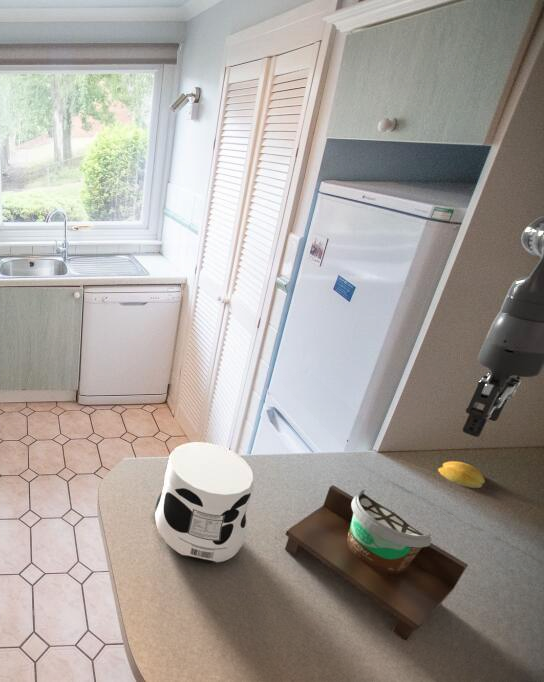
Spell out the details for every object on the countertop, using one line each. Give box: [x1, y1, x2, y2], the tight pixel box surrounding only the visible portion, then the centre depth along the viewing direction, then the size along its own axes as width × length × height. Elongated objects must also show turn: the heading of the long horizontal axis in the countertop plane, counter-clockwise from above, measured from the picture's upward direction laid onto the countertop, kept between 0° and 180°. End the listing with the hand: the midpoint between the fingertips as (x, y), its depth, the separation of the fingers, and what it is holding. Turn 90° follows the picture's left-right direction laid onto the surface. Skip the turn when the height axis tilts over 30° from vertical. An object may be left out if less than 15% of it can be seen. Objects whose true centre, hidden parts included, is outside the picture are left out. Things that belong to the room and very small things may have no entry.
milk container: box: [154, 441, 254, 564], centre depth 90 cm, size 17×17×18 cm
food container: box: [347, 488, 432, 573], centre depth 81 cm, size 12×6×10 cm, turn 21°
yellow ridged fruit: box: [437, 460, 486, 489], centre depth 107 cm, size 8×9×4 cm
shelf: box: [284, 484, 469, 642], centre depth 83 cm, size 22×14×10 cm, turn 31°
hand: (479, 426), depth 79 cm, fingers open, 8 cm apart
